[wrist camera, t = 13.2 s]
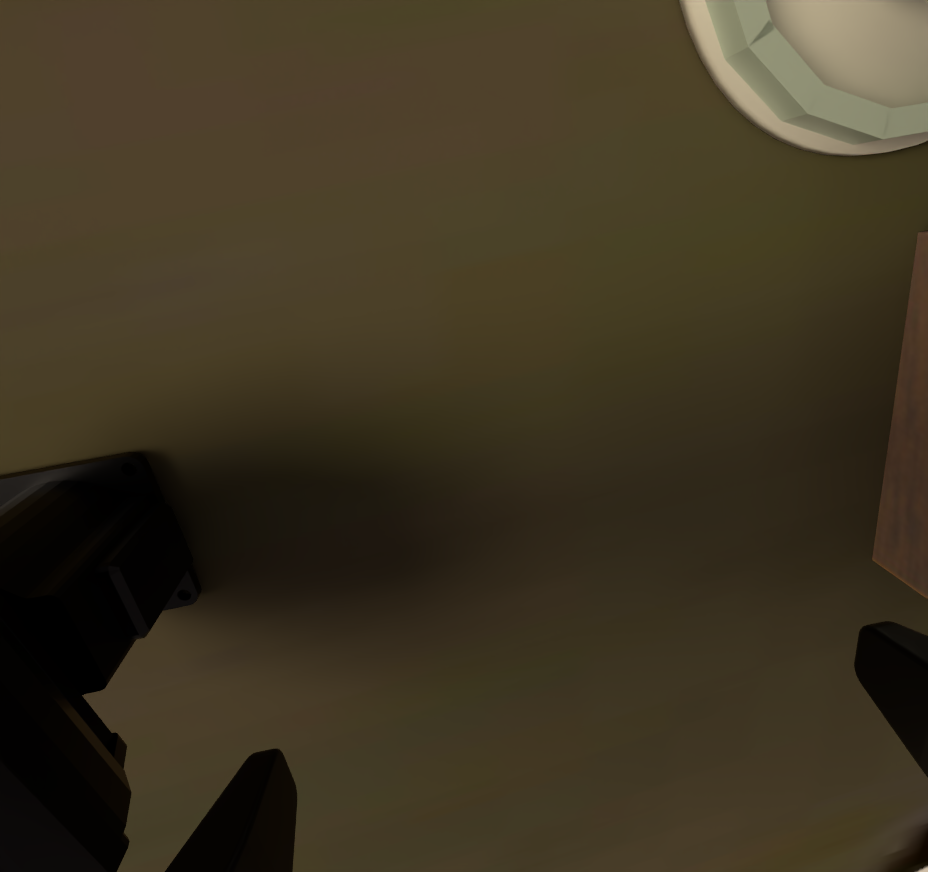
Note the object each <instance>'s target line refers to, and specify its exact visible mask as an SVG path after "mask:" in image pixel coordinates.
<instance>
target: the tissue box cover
mask: <svg viewBox="0 0 928 872" xmlns="http://www.w3.org/2000/svg"><path fill="white" fill-rule="evenodd" d="M872 560H873V561H874V562H876V563H877V564H879V565H880V566H881V567H883V568H884V569H886V570H887V571H888V572H890V573H891V574H893V575H894V576H896V577H897V578H898V579H900V580H901V581H903V582H904V583H905V584H907V585H908V586H910V587H911V588H912V589H914V590H915V591H917V592H918V593H920V594H921V595H922V596H924V597H925V598H927V599H928V230H927V231H922V232H918V237H917V245H916V252H915V259H914V266H913V273H912V280H911V287H910V294H909V301H908V308H907V315H906V322H905V330H904V337H903V344H902V351H901V358H900V365H899V372H898V379H897V386H896V393H895V400H894V407H893V415H892V422H891V429H890V436H889V443H888V450H887V457H886V464H885V471H884V478H883V485H882V492H881V500H880V507H879V514H878V521H877V528H876V535H875V542H874V549H873V556H872Z"/></svg>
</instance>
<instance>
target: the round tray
mask: <svg viewBox="0 0 928 872" xmlns="http://www.w3.org/2000/svg"><path fill="white" fill-rule="evenodd" d="M679 2H680V6H681V9H682V13H683V16H684V20H685V23H686V27H687V29H688V32H689V34H690V36H691V39H692V41H693V44H694V46H695V48H696V51H697V53H698V55H699V58H700V59H701V61H702V63H703V65H704V66H705V68H706V70H707V71H708V73H709V75H710V76H711V78H712V80H713V81H714V83H715V85H716V86H717V87H718V88H719V90H720V91H721V92H722V93H723V95H724V96H725V97H726V98H727V100H728V101H729V102H730V103H731V105H732V106H733V107H734V108H735V109H736V110H737V111H738V112H740V113H741V114H742V115H743V116H744V117H745V118H746V119H747V120H748V121H750V122H751V123H752V124H753V125H754V126H756V127H757V128H759V129H760V130H762V131H763V132H765V133H767V134H768V135H770V136H771V137H773V138H774V139H776V140H778V141H781V142H783V143H786V144H788V145H790V146H793V147H795V148H797V149H800V150H805V151H809V152H813V153H818V154H822V155H834V156H859V155H869V154H878V153H885V152H891V151H895V150H899V149H903V148H907V147H911V146H915V145H918V144H921V143H923V142H926V141H928V0H679Z"/></svg>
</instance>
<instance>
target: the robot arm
mask: <svg viewBox="0 0 928 872" xmlns="http://www.w3.org/2000/svg"><path fill="white" fill-rule="evenodd" d="M127 463H131V464H133V465H134V466H135V467H136V468H137V471H132V470H130V469H129V468H128V467H127ZM192 562H193V558H192V555H191V553H190V550H189V548H188V546H187V543H186V541H185V538H184V536H183V534H182V531H181V529H180V527H179V524H178V522H177V519H176V517H175V515H174V512H173V510H172V507H171V506H170V505H168V504H167V503H165V500H164V498H163V496H162V493H161V491H160V489H159V486H158V484H157V481H156V479H155V477H154V474H153V472H152V470H151V467H150V465H149V462H148V461H147V459H146V458H145V457H144V456H142V455H141V454H139V453H136V452H128V453H122V454H117V455H111V456H106V457H101V458H95V459H90V460H84V461H79V462H74V463H68V464H63V465H57V466H52V467H46V468H41V469H36V470H30V471H25V472H19V473H14V474H9V475H3V476H0V872H117V870H118V868H119V865H120V863H121V861H122V859H123V857H124V855H125V853H126V851H127V849H128V845H129V839H128V837H127V836H126V835H125V833H124V830H125V827H126V822H127V816H128V810H129V804H130V798H131V790H130V786H129V783H128V780H127V777H126V774H125V771H124V770H123V769H124V762H125V756H126V749H127V745H126V744H125V742H124V741H123V740H122V738H121V737H120V736H119V735H118V734H117V733H111V732H110V730H109V729H108V728H107V727H106V725H105V724H104V723H103V722H102V720H101V719H100V718H99V717H98V715H97V714H96V713H95V711H94V710H93V709H92V708H91V706H90V705H89V704H88V703H87V701H86V700H85V699H84V698H83V696H82V695H84V694H87V693H92V692H97V691H101V690H103V689H105V687H106V686H107V684H108V683H109V681H110V679H111V678H112V676H113V675H114V673H115V672H116V670H117V669H118V667H119V665H120V664H121V662H122V661H123V659H124V658H125V656H126V655H127V653H128V651H129V650H130V648H131V647H132V645H133V644H134V642H135V641H136V639H141V638H145V637H146V636H147V634H148V633H149V631H150V630H151V628H152V627H153V625H154V623H155V622H156V620H157V619H158V617H159V615H160V614H161V612H162V611H163V610H168V609H173V608H178V607H183V606H188V605H191V604H193V603H194V602H196V601H197V599H198V597H199V595H200V593H201V586H200V584H199V581H198V579H197V576H196V574H195V572H194V569H193V567H192V565H191V564H192ZM182 590H187V591H189V592H190V593H191V594H186V593H183V591H182ZM854 667H855V672H856V675H857V677H858V679H859V681H860V683H861V684H862V686H863V687H864V689H865V690H866V691H867V693H868V694H869V696H870V697H871V698H872V700H873V701H874V703H875V704H876V706H877V707H878V708H879V710H880V711H881V713H882V714H883V715H884V717H885V718H886V720H887V721H888V723H889V724H890V725H891V727H892V728H893V730H894V731H895V732H896V734H897V735H898V737H899V738H900V739H901V741H902V742H903V744H904V745H905V747H906V748H907V749H908V751H909V752H910V754H911V755H912V756H913V758H914V759H915V761H916V762H917V764H918V765H919V766H920V768H921V769H922V770H923V772H924V773H925V774H926V776H927V777H928V636H926V635H924V634H921V633H919V632H916V631H914V630H912V629H909V628H907V627H904V626H902V625H900V624H897V623H894V622H889V621H885V622H879V623H875V624H870V625H866V626H863V627H862V628H861V630H860V632H859V637H858V643H857V649H856V656H855V662H854ZM296 812H297V789H296V785H295V782H294V779H293V777H292V774H291V772H290V770H289V767H288V765H287V762H286V760H285V757H284V755H283V753H282V751H281V750H279V749H270V750H265V751H260V752H256V753H253V754H252V755H250V756H249V757H248V758H247V759H246V761H245V762H244V764H243V765H242V766H241V768H240V769H239V770H238V772H237V773H236V775H235V776H234V777H233V779H232V780H231V781H230V783H229V784H228V786H227V787H226V788H225V790H224V791H223V792H222V794H221V795H220V797H219V798H218V799H217V801H216V802H215V803H214V805H213V806H212V808H211V809H210V810H209V812H208V813H207V814H206V816H205V817H204V819H203V820H202V821H201V823H200V824H199V825H198V827H197V828H196V830H195V831H194V832H193V834H192V835H191V836H190V838H189V839H188V841H187V842H186V843H185V845H184V846H183V847H182V849H181V850H180V852H179V853H178V854H177V856H176V857H175V858H174V860H173V861H172V863H171V864H170V865H169V867H168V868H167V869H166V871H165V872H292V870H293V856H294V841H295V826H296Z"/></svg>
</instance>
